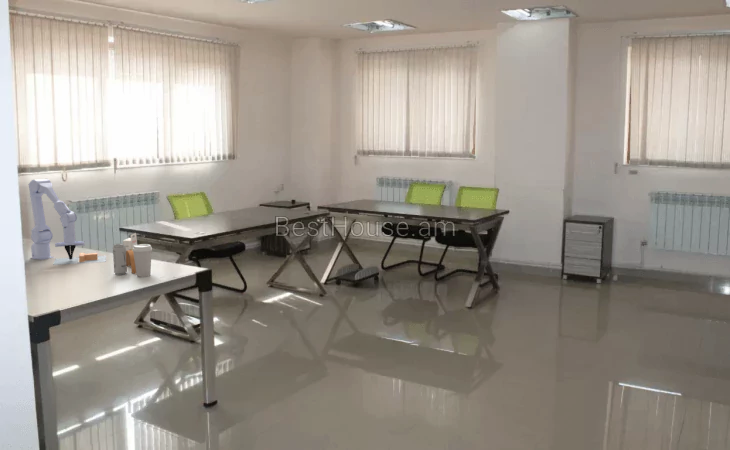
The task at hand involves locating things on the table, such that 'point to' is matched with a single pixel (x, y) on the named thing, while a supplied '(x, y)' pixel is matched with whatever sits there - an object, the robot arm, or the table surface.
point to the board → (77, 260)
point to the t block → (87, 257)
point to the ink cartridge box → (130, 242)
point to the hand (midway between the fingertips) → (70, 259)
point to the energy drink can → (119, 259)
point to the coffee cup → (142, 259)
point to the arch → (130, 260)
